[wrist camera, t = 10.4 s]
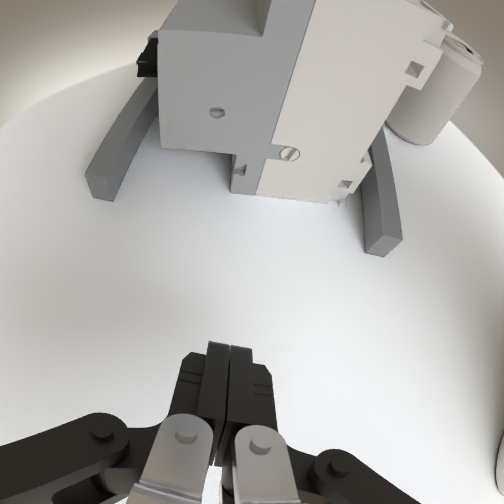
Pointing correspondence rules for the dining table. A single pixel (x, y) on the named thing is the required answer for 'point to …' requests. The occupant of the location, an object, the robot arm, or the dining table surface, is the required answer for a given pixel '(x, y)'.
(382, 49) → the circuit breaker
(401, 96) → the beverage can
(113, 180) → the breaker bay
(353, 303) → the dining table surface
